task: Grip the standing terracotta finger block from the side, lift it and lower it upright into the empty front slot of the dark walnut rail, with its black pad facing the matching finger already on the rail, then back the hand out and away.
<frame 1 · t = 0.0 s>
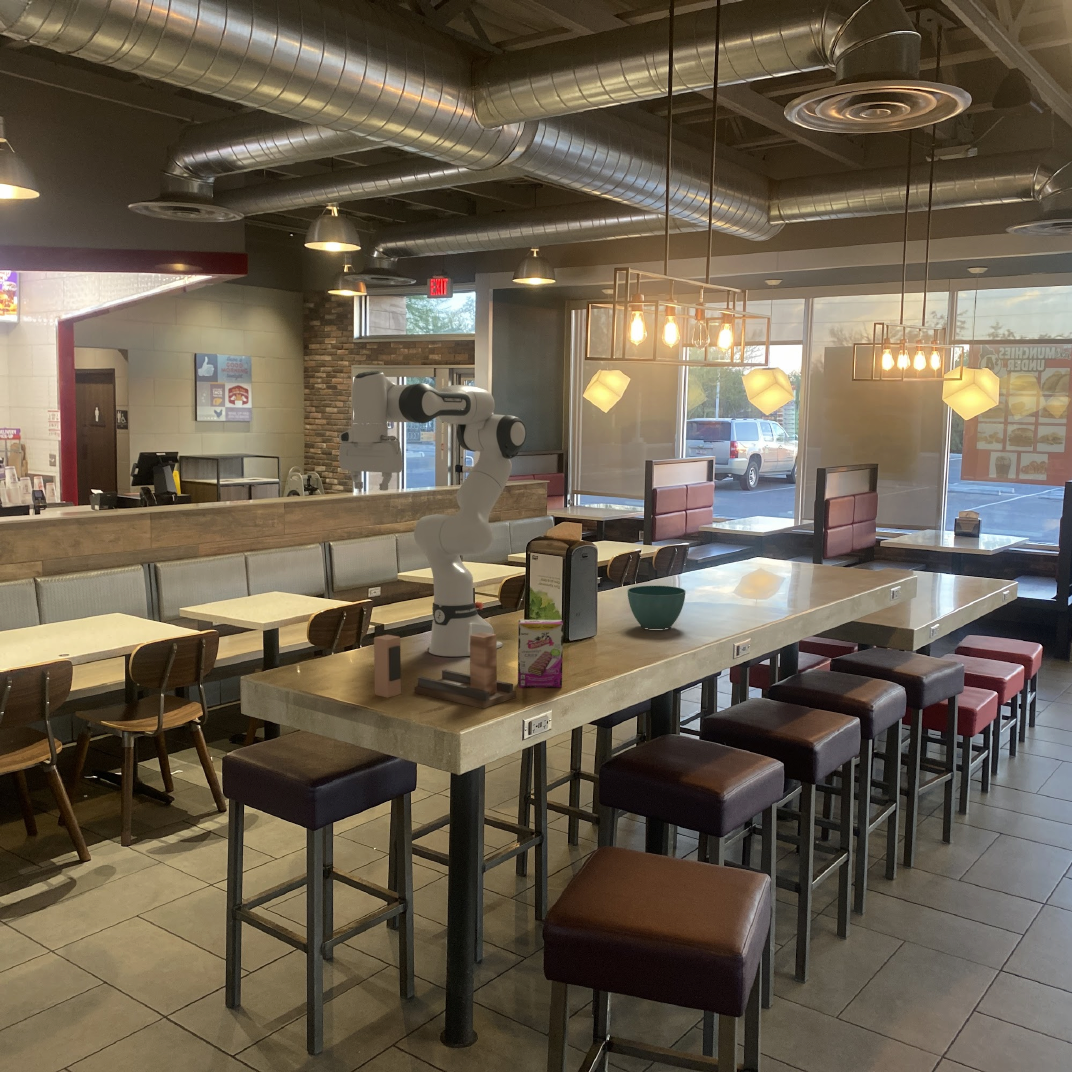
hand: (371, 489, 260), 48 cm above the table, tool pointing down, fingers open, 8 cm apart
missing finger: (388, 694, 245), on the table
candy bar box: (540, 686, 253), on the table
finger rail: (464, 694, 245), on the table
dark green round bowl: (655, 628, 323), on the table
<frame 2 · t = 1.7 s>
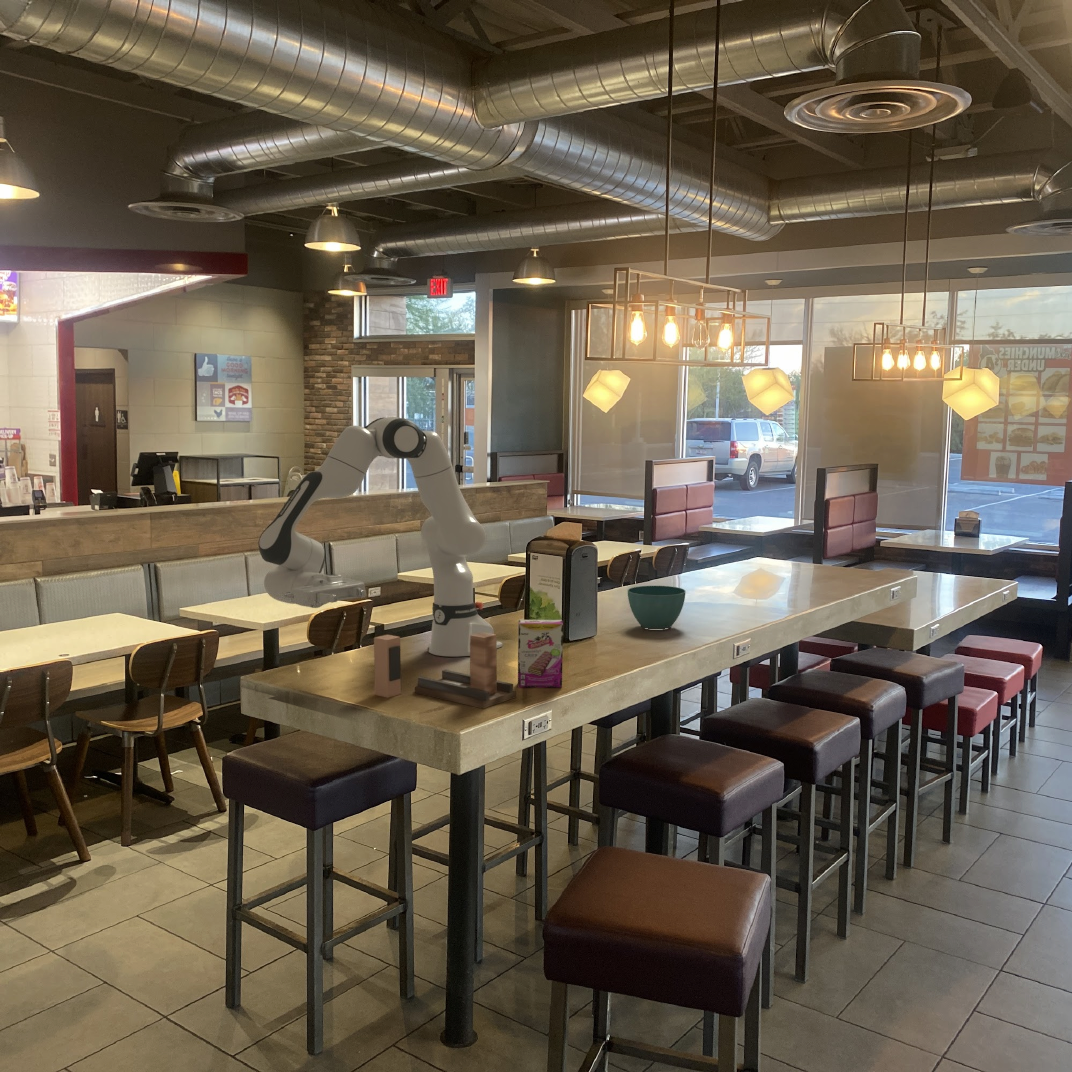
hand: (349, 596, 251), 22 cm above the table, tool horizontal, fingers open, 8 cm apart
nothing on the table moved.
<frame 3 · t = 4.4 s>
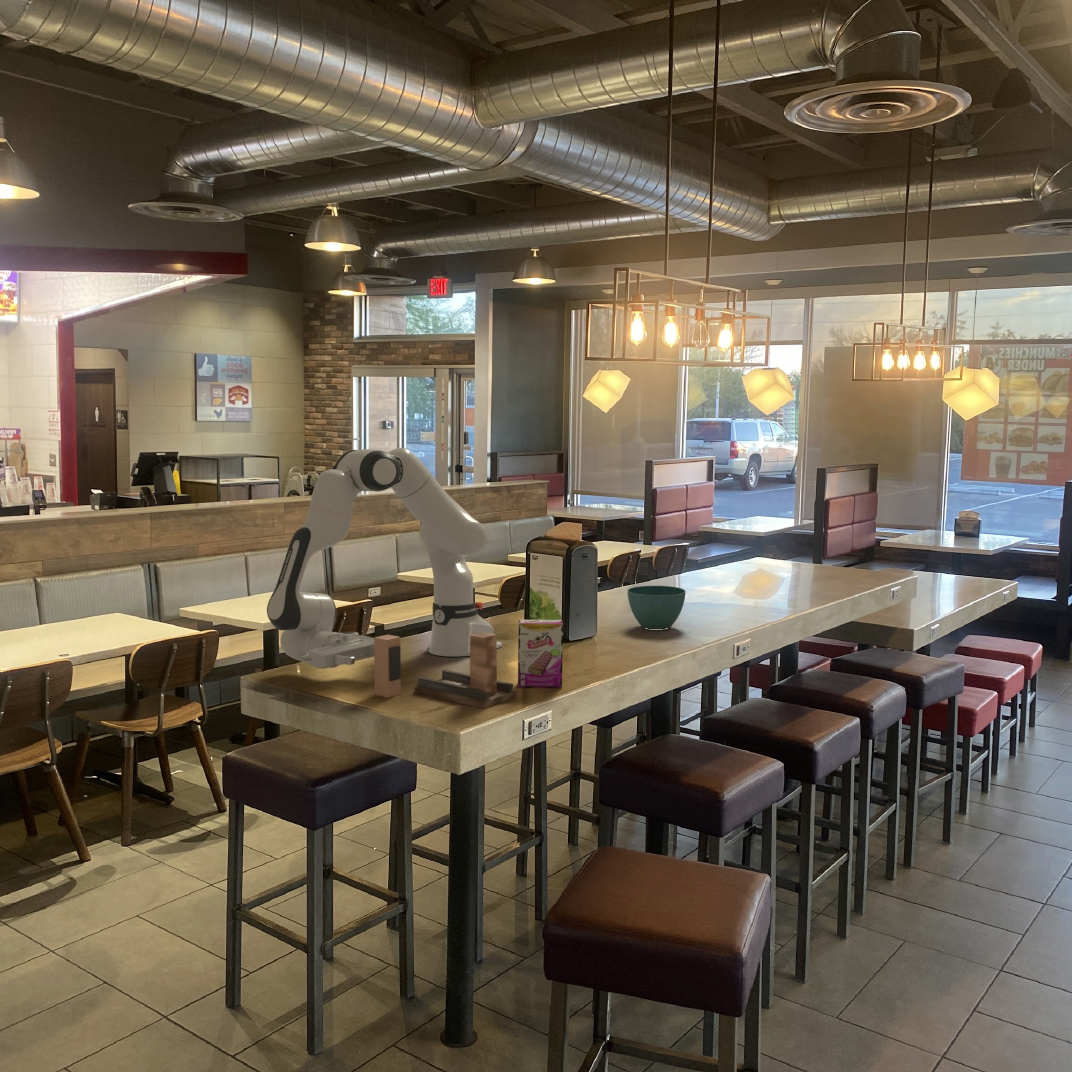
hand: (367, 657, 249), 8 cm above the table, tool horizontal, fingers open, 8 cm apart
nothing on the table moved.
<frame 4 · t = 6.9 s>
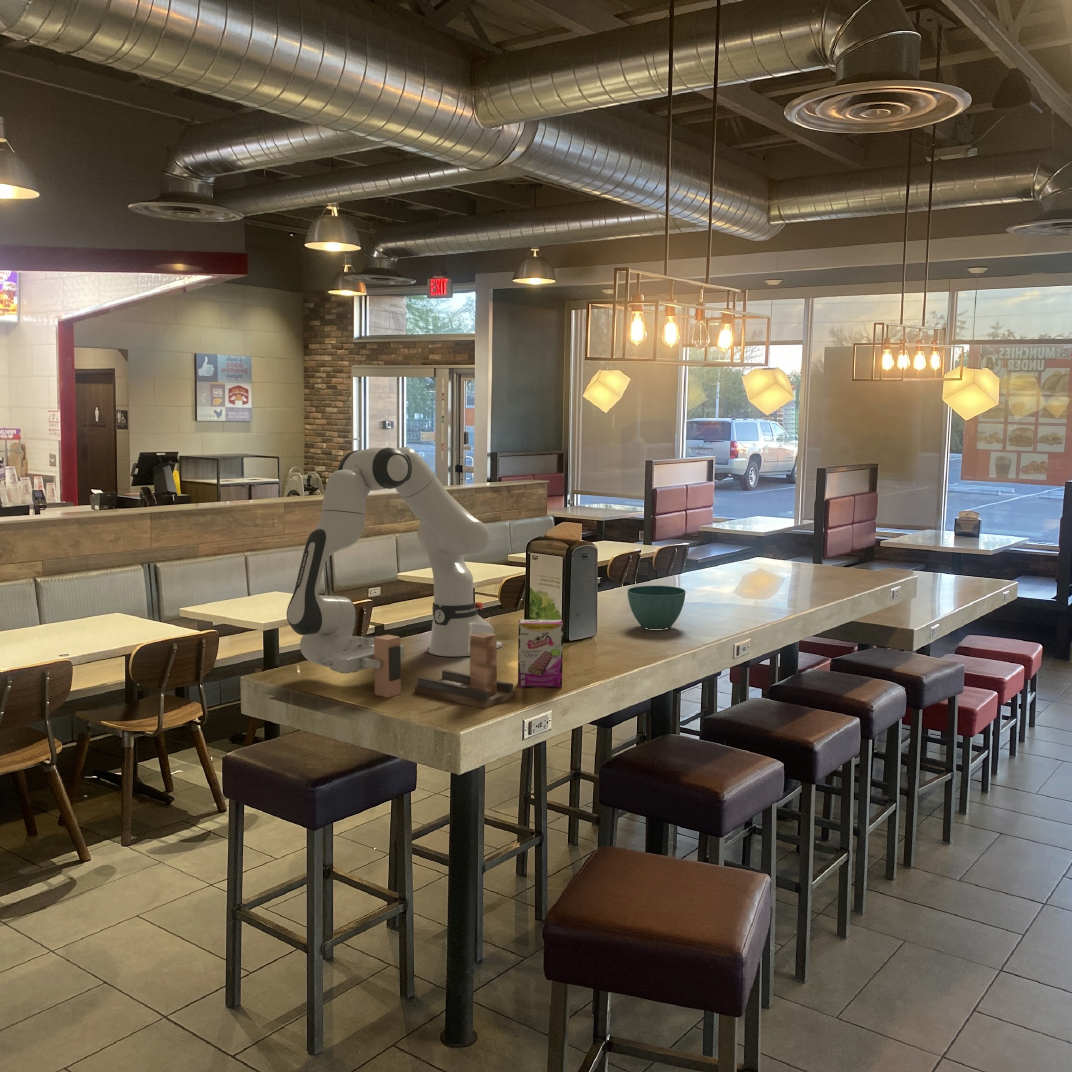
hand: (390, 662, 244), 8 cm above the table, tool horizontal, fingers closed on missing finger, 4 cm apart
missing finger: (388, 694, 245), on the table, touching gripper
everything else where it was.
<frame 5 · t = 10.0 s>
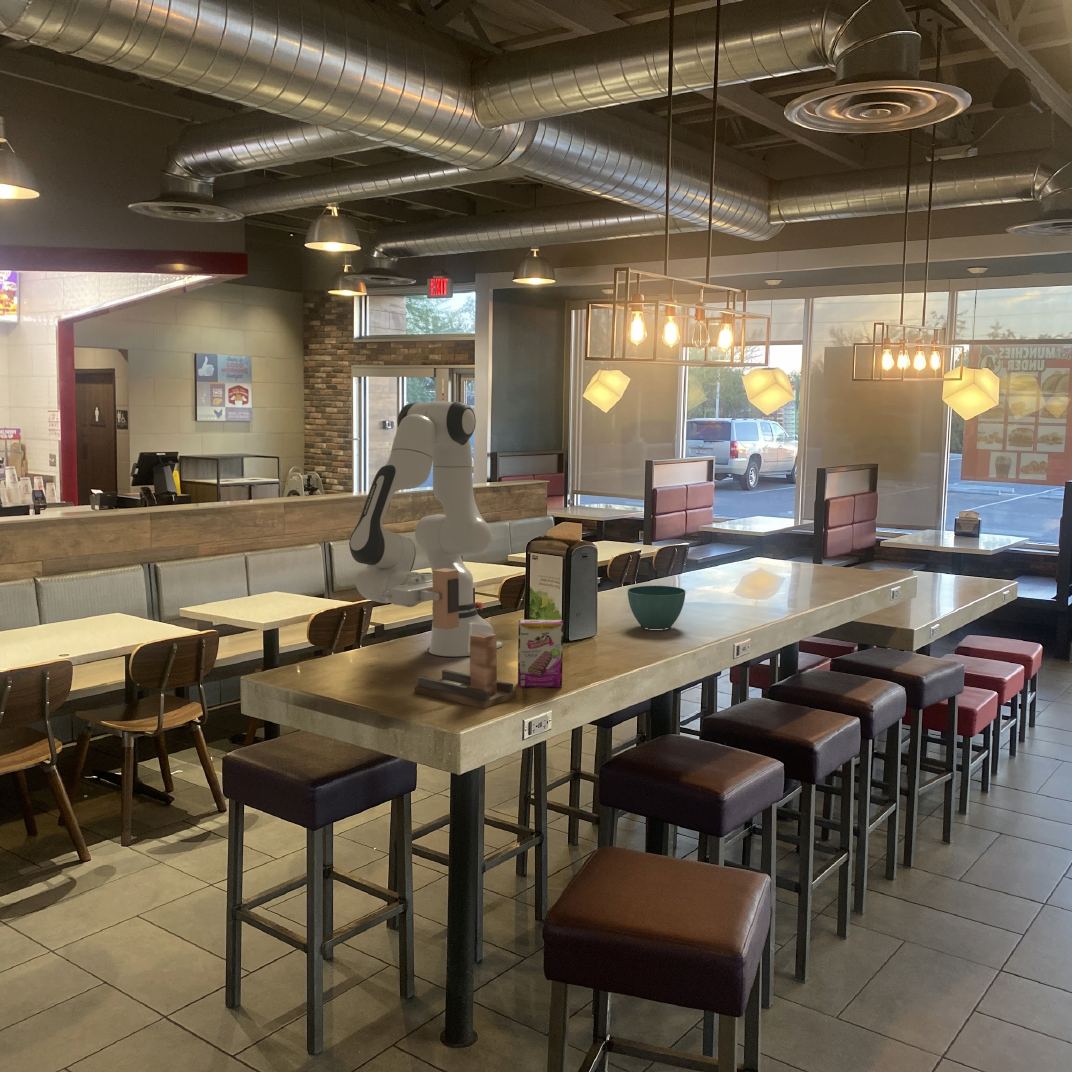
hand: (448, 595, 245), 24 cm above the table, tool horizontal, fingers closed on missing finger, 4 cm apart
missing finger: (446, 627, 247), point 16 cm above the table, touching gripper
everything else where it was.
when the fingers open (10 cm above the table, at t = 13.2 s): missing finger stays where it is, resting on finger rail.
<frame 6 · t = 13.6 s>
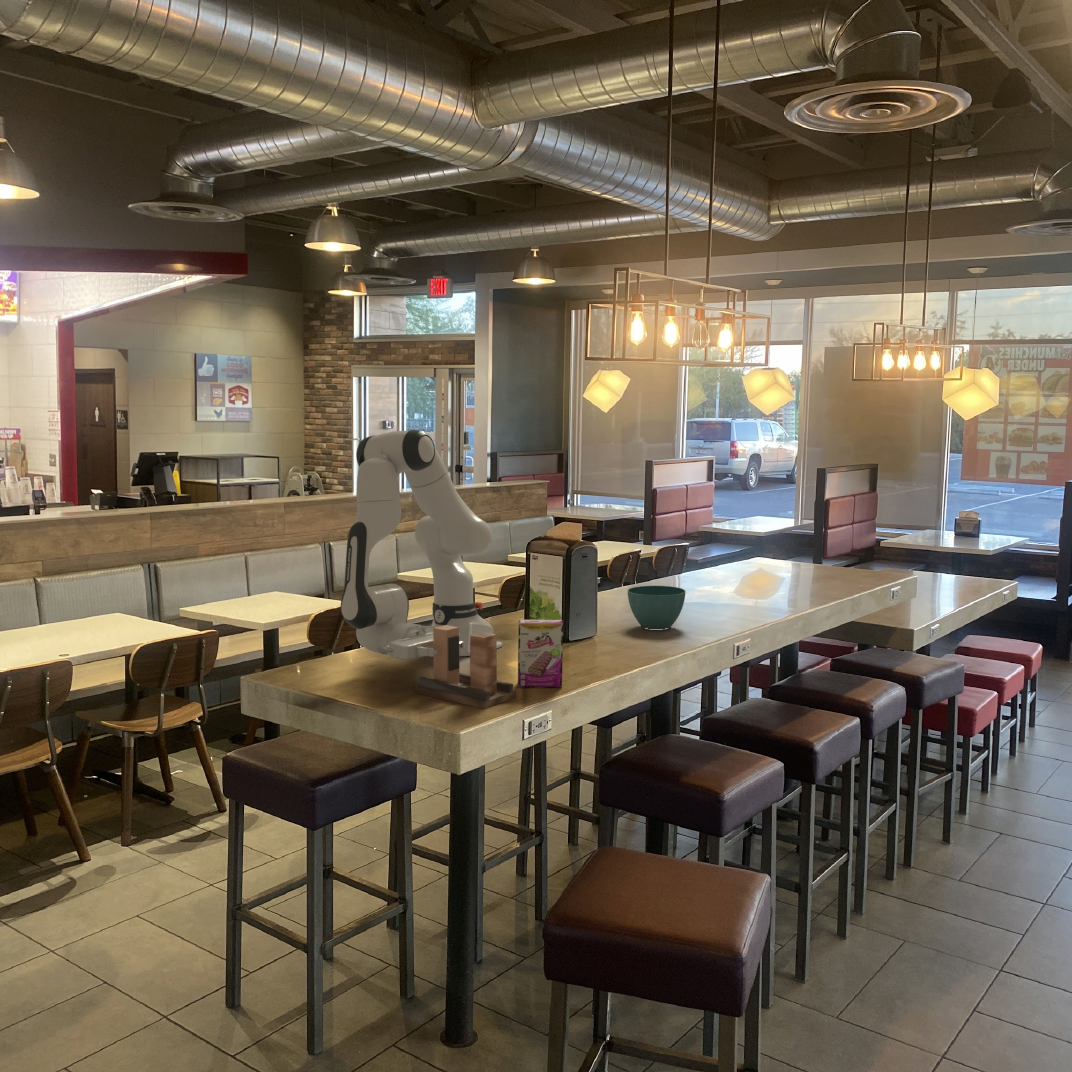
hand: (448, 649, 247), 10 cm above the table, tool horizontal, fingers open, 8 cm apart
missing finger: (446, 684, 248), point 2 cm above the table, touching finger rail
everything else where it was.
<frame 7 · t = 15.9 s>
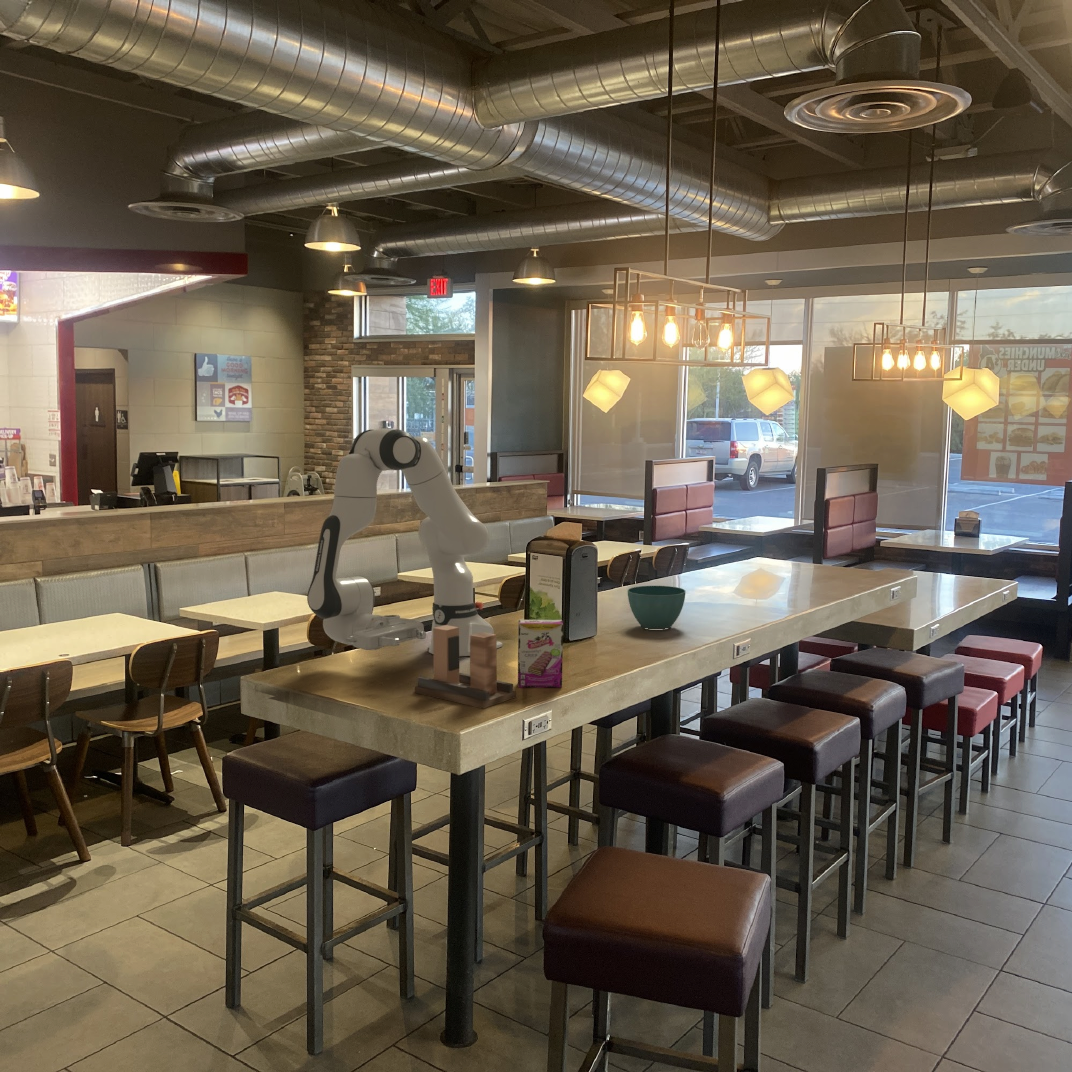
hand: (410, 639, 255), 11 cm above the table, tool horizontal, fingers open, 8 cm apart
nothing on the table moved.
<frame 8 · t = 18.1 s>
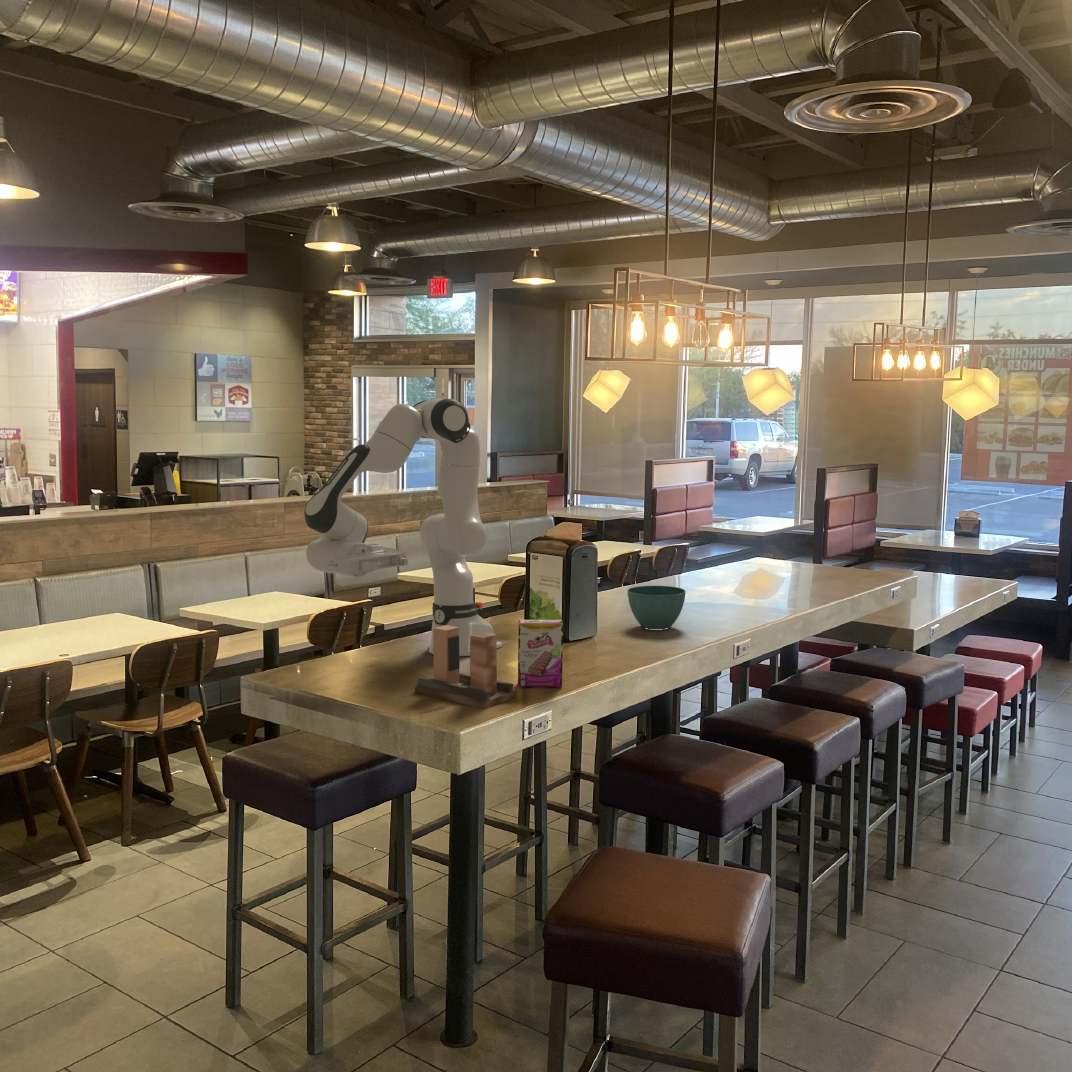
hand: (392, 564, 253), 30 cm above the table, tool horizontal, fingers open, 8 cm apart
nothing on the table moved.
at the end: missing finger 0.0 cm from the target spot on the finger rail, point 1.7 cm above the finger rail's base; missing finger tilted 0°; the gripper is holding nothing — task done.
